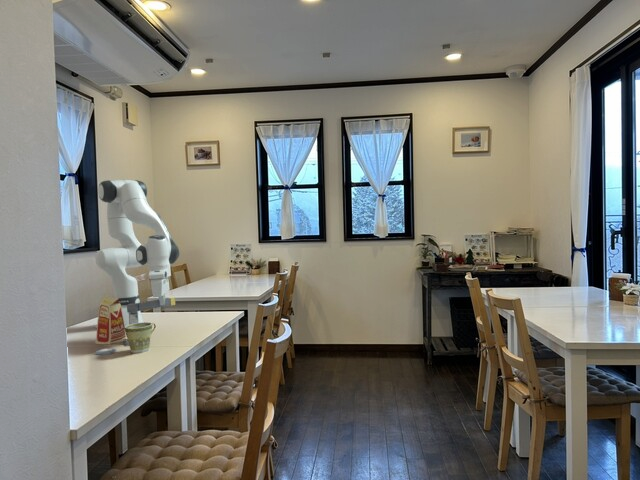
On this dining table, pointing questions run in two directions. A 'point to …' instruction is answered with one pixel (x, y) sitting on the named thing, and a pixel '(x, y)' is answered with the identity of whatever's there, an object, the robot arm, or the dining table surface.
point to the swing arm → (149, 305)
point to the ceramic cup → (139, 336)
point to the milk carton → (110, 322)
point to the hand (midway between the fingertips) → (162, 304)
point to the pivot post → (132, 319)
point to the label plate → (105, 351)
